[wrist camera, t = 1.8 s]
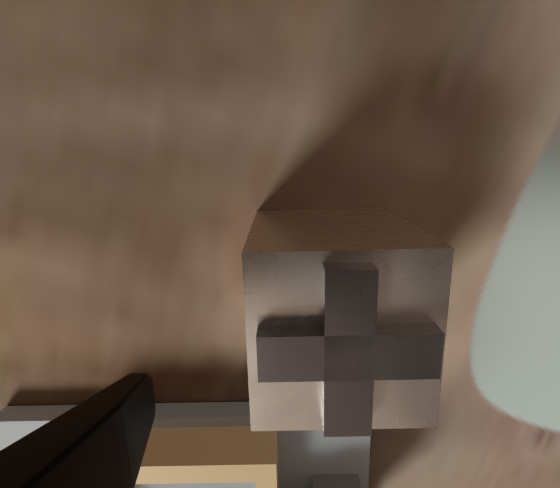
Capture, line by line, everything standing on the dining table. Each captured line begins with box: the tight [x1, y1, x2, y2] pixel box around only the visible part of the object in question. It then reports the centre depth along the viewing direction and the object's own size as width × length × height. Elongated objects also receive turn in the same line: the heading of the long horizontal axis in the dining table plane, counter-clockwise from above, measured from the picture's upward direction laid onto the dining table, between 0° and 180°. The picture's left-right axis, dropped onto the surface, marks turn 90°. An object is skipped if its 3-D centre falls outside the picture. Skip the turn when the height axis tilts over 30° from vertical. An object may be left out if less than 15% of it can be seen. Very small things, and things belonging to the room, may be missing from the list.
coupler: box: [242, 208, 454, 437], centre depth 12 cm, size 5×5×7 cm
